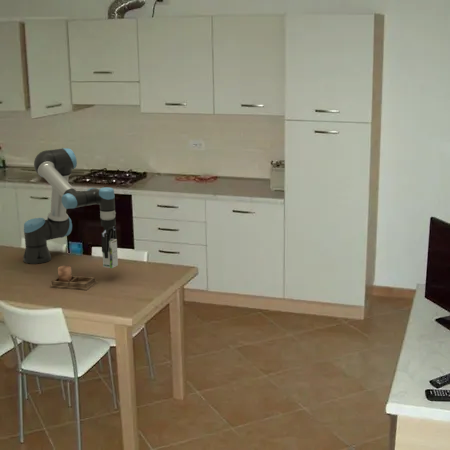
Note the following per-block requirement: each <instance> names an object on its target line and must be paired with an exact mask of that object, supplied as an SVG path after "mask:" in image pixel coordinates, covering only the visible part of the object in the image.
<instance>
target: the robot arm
mask: <svg viewBox="0 0 450 450" xmlns="http://www.w3.org/2000/svg"><path fill="white" fill-rule="evenodd" d="M77 165H78V161H77V156H76V154H75V152H74V151H73V149H71V148H68V147H67V148H64V147H61V148H58V149H57V148H56V149H49V150H48V149H46V150H42V151H41V152H39V153H37V155H36V156H35V157H34V161H33V168H34V171H35V172H36V173H37V175H38V176H39V177H41V178H43V179H44V180H45V181H46V182H47V183H48V184H49V185H50V186H51V199H50V212H49V213H48V214H47V219H45V218H43V217H35V218H31V219H28V220H26V221H25V222H24V223H23V232H24V243H25V244H24V245H25V250H24V253H23V262H24V263H25V262H26V263H25V264H28V263H30V264H29V265H36V264H38V263H39V264H44V263H47V262H49V261H51V260H52V255H51V252H50V250H49V247H48V246H47V245H48V244H47V243H48V242H47V241H49V240H54V239H60V238H65V237H68V236H69V235H70V234H71V233H72V231H73V223H72V219H71V218H70V216H69V215H68V213H67V210H68V209H76V208H80V207H87V206H92V205H98V206H99V212H100V213H99V215H100V216H99V218H100V226H101V227H103V232H100V236H101V252H104V261H105V264H110V252H109V241H110V238H112V239H117V237H118V236H117V226H116V225H117V222H116V220H117V219H116V214H117V212H116V200H115V198H116V197H115V190H114V188H113V187H105V186H104V187H101V188H96V187H91V188H88V189H87V190H82V191H77V190H76V189H75V188H74V187H73V186H72V185H71V183H69V177H70V176H71V175H72V172H73V170H74V169H75V168H76V167H78V166H77ZM117 240H118V239H117Z"/></svg>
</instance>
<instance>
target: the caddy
mask: <svg viewBox="0 0 450 450" xmlns="http://www.w3.org/2000/svg"><path fill="white" fill-rule="evenodd" d="M57 272H58V274H57V275H58V276H57V277H56V278H55V279H53V280H51V284H50V286H49V288H51V289H63V290H64V289H65V290H75V291H77V290H78V291H88V290H90V289H91V288H92V287H94V286H95V285H96V284H97V283H98V280H96V277H92V276H76V275H72V267H71V266H70V265H61V266H58V268H57Z"/></svg>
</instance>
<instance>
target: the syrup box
mask: <svg viewBox="0 0 450 450" xmlns="http://www.w3.org/2000/svg"><path fill="white" fill-rule="evenodd" d="M101 252H102V251H101ZM109 252H110V264H105V261H104V252H102V267H103V268H107V269H113V268H115V267H117V266H118V265H119V259H118V258H119V256H118V239H112V238H110V241H109Z"/></svg>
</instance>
